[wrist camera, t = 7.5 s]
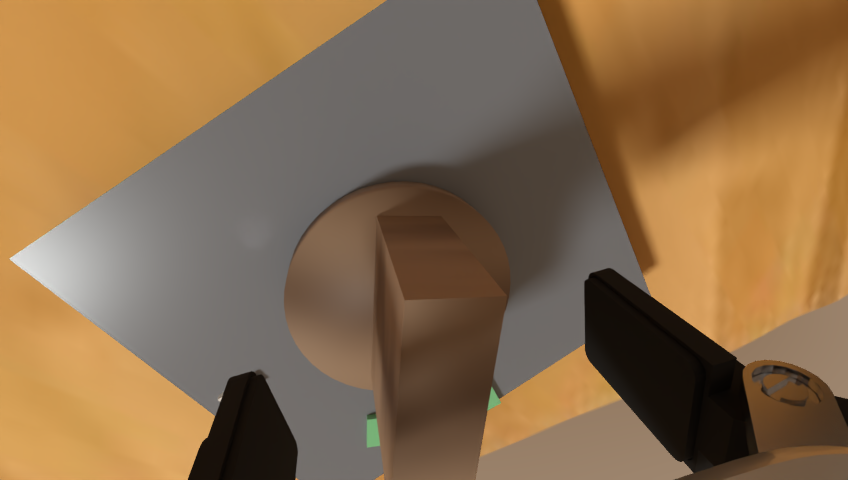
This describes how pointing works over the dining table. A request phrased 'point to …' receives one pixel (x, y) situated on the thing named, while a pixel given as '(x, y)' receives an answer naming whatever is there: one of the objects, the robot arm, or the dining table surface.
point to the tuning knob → (405, 318)
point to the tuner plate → (330, 181)
